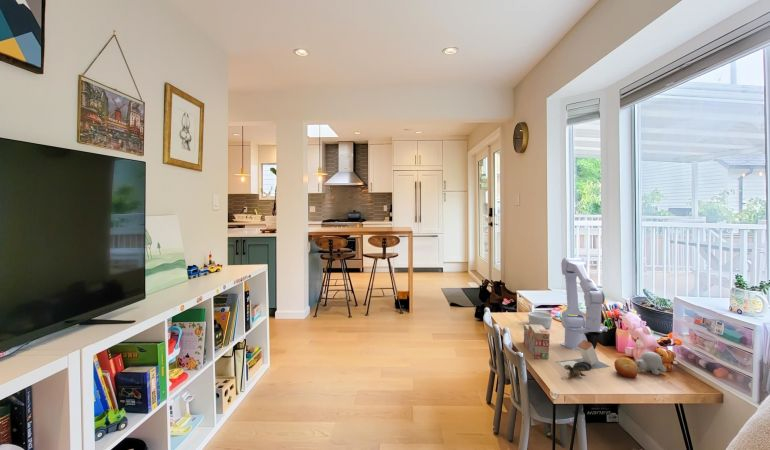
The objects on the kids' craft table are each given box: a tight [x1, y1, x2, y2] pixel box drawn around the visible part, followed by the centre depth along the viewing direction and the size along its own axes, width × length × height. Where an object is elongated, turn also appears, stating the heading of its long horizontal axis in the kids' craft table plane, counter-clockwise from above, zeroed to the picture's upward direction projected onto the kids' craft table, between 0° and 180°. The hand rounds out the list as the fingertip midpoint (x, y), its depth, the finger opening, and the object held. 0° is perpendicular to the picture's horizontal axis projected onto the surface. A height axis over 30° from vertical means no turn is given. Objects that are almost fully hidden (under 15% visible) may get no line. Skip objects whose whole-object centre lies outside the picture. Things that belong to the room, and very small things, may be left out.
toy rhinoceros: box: [633, 351, 667, 376], centre depth 146 cm, size 7×12×8 cm, turn 87°
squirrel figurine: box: [563, 362, 592, 379], centre depth 141 cm, size 8×7×9 cm
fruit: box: [614, 357, 638, 378], centre depth 143 cm, size 8×8×8 cm
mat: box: [556, 357, 612, 371], centre depth 152 cm, size 20×10×1 cm, turn 107°
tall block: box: [578, 340, 599, 365], centre depth 153 cm, size 4×4×9 cm
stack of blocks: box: [523, 323, 550, 360], centre depth 168 cm, size 21×6×12 cm, turn 171°
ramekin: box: [527, 311, 553, 330], centre depth 206 cm, size 13×13×7 cm
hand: (592, 348), depth 154 cm, fingers closed
